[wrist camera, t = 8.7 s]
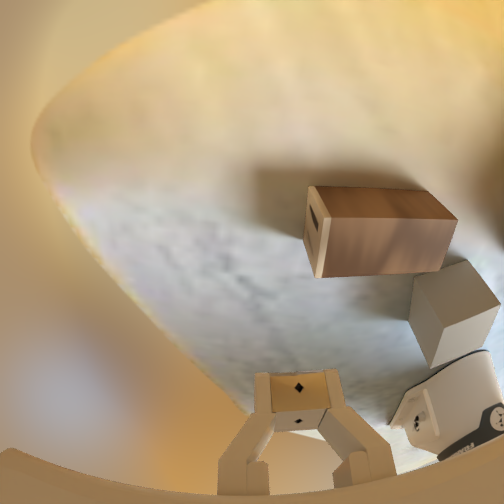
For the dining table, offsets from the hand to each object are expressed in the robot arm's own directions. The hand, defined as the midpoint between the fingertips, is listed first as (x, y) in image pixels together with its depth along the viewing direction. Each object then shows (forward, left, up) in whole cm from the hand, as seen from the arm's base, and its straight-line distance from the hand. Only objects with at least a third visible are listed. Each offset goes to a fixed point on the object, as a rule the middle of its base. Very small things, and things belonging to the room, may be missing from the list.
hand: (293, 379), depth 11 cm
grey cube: (-8, -16, -12) cm, 21 cm away
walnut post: (0, -2, -10) cm, 10 cm away
